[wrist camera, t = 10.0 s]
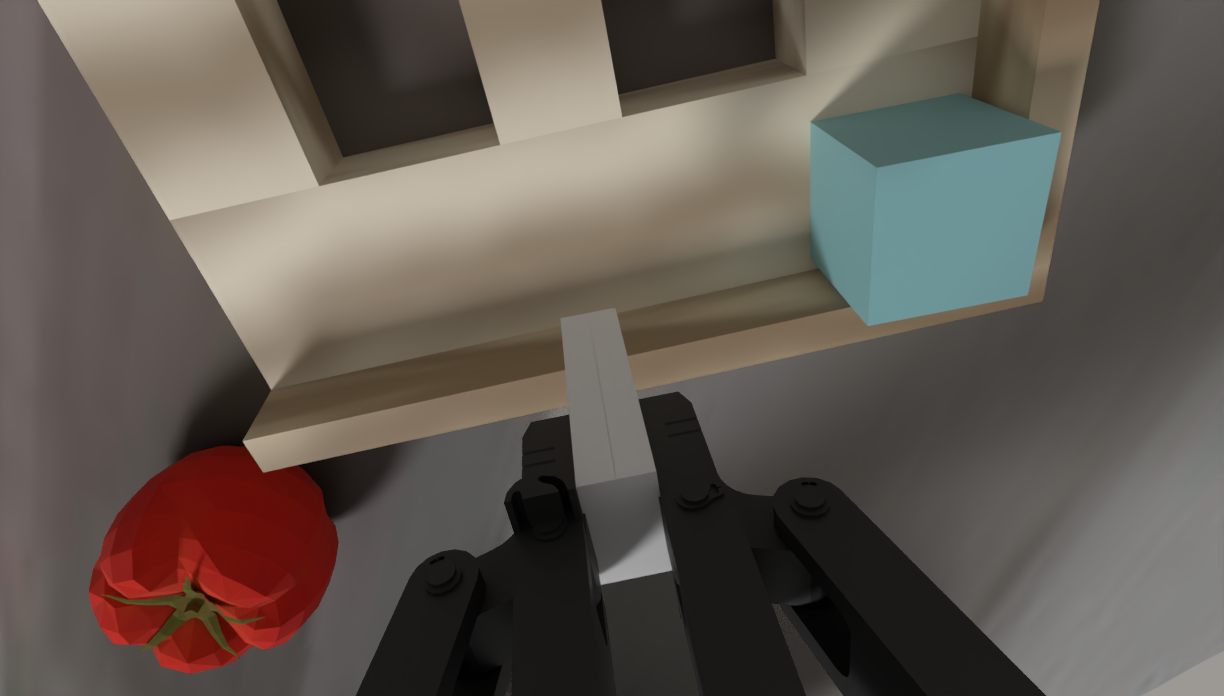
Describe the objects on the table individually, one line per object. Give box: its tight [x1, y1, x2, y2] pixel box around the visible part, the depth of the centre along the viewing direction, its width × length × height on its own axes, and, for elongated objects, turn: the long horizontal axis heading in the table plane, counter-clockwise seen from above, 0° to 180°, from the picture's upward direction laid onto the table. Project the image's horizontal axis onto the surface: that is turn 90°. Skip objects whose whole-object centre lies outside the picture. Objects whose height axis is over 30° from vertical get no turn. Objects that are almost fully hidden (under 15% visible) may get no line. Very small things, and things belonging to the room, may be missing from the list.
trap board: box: [38, 0, 1100, 473], centre depth 21 cm, size 17×28×6 cm, turn 101°
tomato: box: [89, 446, 339, 674], centre depth 29 cm, size 9×9×8 cm
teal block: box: [810, 93, 1062, 326], centre depth 21 cm, size 5×5×5 cm
